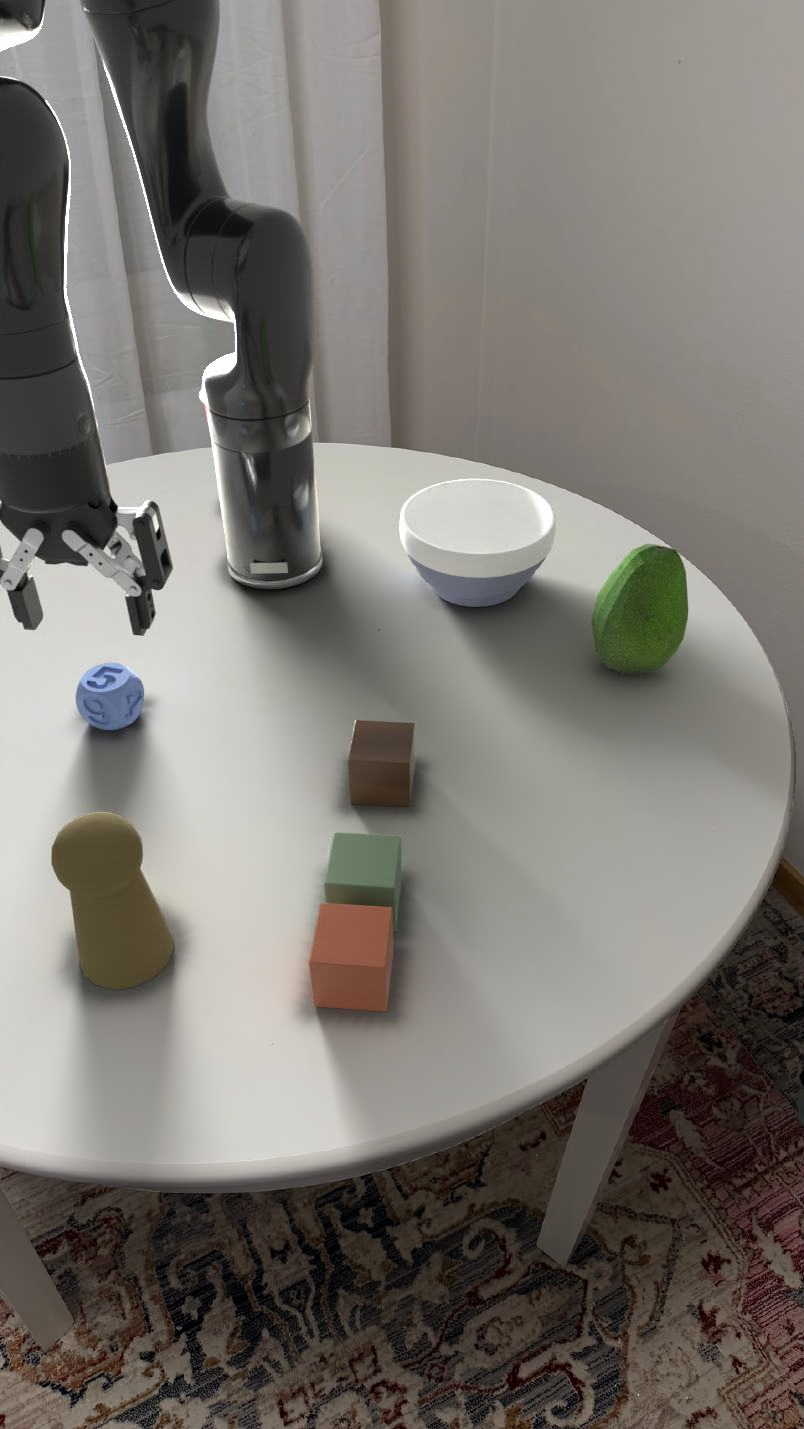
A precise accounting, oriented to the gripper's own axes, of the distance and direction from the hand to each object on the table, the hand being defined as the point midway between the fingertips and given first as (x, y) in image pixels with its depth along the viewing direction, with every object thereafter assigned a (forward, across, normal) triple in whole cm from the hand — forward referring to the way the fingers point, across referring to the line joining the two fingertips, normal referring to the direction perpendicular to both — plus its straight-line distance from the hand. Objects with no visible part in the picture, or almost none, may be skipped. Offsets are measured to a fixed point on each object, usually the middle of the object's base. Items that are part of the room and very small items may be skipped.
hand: (87, 627), depth 77 cm
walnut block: (+9, -23, +6) cm, 26 cm away
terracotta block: (+9, -24, +24) cm, 35 cm away
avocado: (+9, -43, -11) cm, 45 cm away
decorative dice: (+9, 0, 0) cm, 9 cm away
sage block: (+9, -24, +18) cm, 31 cm away
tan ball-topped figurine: (+9, -8, +23) cm, 26 cm away
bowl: (+9, -29, -22) cm, 38 cm away
